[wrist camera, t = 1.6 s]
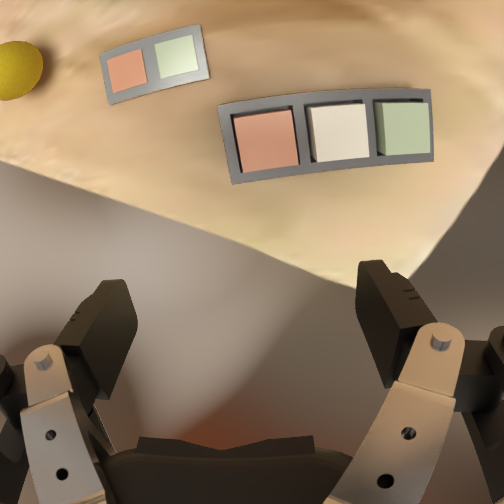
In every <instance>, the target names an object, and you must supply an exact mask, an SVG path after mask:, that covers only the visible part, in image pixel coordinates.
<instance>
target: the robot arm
mask: <svg viewBox="0 0 504 504" xmlns="http://www.w3.org/2000/svg"><path fill="white" fill-rule="evenodd" d="M355 309H356V314H357V318H358V321H359V323H360V326H361V328H362V330H363V333H364V336H365V338H366V341H367V343H368V346H369V348H370V351H371V353H372V356H373V359H374V361H375V364H376V367H377V369H378V371H379V375H380V377H381V380H382V382H383V385H384V388H385V389H386V388H391V387H392V388H391V390H390V392H389V394H388V396H387V398H386V400H385V402H384V404H383V406H382V408H381V410H380V412H379V414H378V416H377V417H376V419H375V421H374V423H373V425H372V427H371V429H370V430H369V432H368V434H367V436H366V437H365V439H364V441H363V443H362V444H361V446H360V448H359V450H358V451H357V453H356V455H355V456H354V458H353V457H351V456H349V455H346V454H344V453H342V452H338V451H335V450H331V449H326V448H321V447H314V440H313V436H312V435H311V436H302V437H291V438H279V439H268V440H264V441H260V442H256V443H253V444H248V445H244V446H240V447H236V448H231V449H227V450H217V449H213V448H208V447H204V446H200V445H196V444H193V443H189V442H185V441H182V440H175V439H160V438H148V437H139V440H138V444H137V448H134V449H130V450H125V451H122V452H119V453H116V451H115V449H114V447H113V446H112V443H111V441H110V439H109V437H108V435H107V432H106V430H105V428H104V426H103V423H102V421H101V419H100V416H99V414H98V412H97V409H96V408H95V406H94V405H93V404H94V402H95V399H104V400H109V399H110V397H111V394H112V391H113V389H114V386H115V384H116V381H117V379H118V376H119V374H120V371H121V368H122V366H123V364H124V361H125V359H126V356H127V353H128V351H129V349H130V347H131V344H132V342H133V339H134V337H135V335H136V332H137V327H138V320H137V315H136V312H135V309H134V306H133V303H132V300H131V297H130V294H129V291H128V288H127V285H126V283H125V281H124V280H122V279H118V280H117V279H116V280H103V281H102V282H101V283H100V285H99V286H98V287H97V289H96V290H95V292H94V293H93V294H92V295H90V296H89V297H88V298H86V299H85V300H84V301H83V302H81V304H80V305H79V307H78V308H77V309H76V311H75V314H73V315H72V317H71V318H70V321H69V322H68V323H67V324H66V326H65V327H64V329H63V330H62V332H61V333H60V335H59V336H58V338H57V339H56V341H55V343H54V344H53V345H45V346H42V347H39V348H37V349H36V350H34V351H33V352H32V353H30V354H29V356H28V357H27V358H26V360H25V363H24V364H22V365H16V366H10V365H9V364H8V362H7V360H6V359H5V357H4V356H3V355H0V411H1V413H2V414H3V415H4V416H5V418H6V419H7V420H6V422H5V425H4V427H3V429H2V431H1V433H0V504H18V500H19V497H20V493H21V490H22V487H23V484H24V481H25V478H26V475H27V471H28V469H29V466H30V469H31V474H32V477H33V481H34V485H35V489H36V492H37V496H38V499H39V503H40V504H419V502H420V500H421V498H422V495H423V493H424V491H425V489H426V486H427V484H428V482H429V479H430V477H431V474H432V472H433V469H434V467H435V464H436V461H437V459H438V456H439V453H440V451H441V448H442V445H443V442H444V439H445V436H446V433H447V430H448V427H449V424H450V420H451V417H452V413H453V412H461V413H462V416H463V418H464V421H465V423H466V426H467V428H468V431H469V434H470V436H471V439H472V442H473V444H474V447H475V450H476V453H477V456H478V458H479V461H480V464H481V466H482V470H483V473H484V476H485V480H486V483H487V486H488V489H489V493H490V496H491V500H492V503H493V504H504V400H503V398H504V326H499V327H496V328H494V329H493V330H492V331H491V333H490V336H489V338H488V341H474V340H473V341H472V340H464V337H463V335H462V334H461V333H460V332H459V331H458V330H457V329H456V328H454V327H452V326H450V325H448V324H444V323H438V322H437V320H436V319H435V317H434V316H433V314H432V313H431V311H430V310H429V308H428V307H427V305H426V304H425V303H424V301H423V300H422V298H420V295H419V294H418V293H417V291H415V288H414V287H413V286H412V284H411V283H410V282H409V280H408V279H406V278H405V277H403V276H402V275H400V274H399V273H397V272H396V273H391V272H390V270H389V269H388V267H387V266H386V265H385V263H384V262H383V260H370V261H361V262H360V263H359V265H358V275H357V287H356V299H355Z"/></svg>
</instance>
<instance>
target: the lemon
mask: <svg viewBox="0 0 504 504" xmlns="http://www.w3.org/2000/svg"><path fill="white" fill-rule="evenodd" d="M42 70H43V58H42V56H41V53H40V51H39V50H38V49H37V48H36V47H35V46H34V45H32V44H30V43H28V42H23V41H12V42H7V43H4V44H1V45H0V100H4V101H7V100H13V99H16V98H19V97H22V96H23V95H25V94H27V93H28V92H29V91H31V90H32V89H33V88H34V87H35V85H36V84H37V82H38V81H39V79H40V77H41V74H42Z"/></svg>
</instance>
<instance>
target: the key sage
mask: <svg viewBox="0 0 504 504" xmlns="http://www.w3.org/2000/svg"><path fill="white" fill-rule="evenodd" d="M372 103H373V112H374V123H375V136H376V150H377V151H379V152H380V153H382V154H384V155H386V156H388V155H401V154H417V153H430V126H429V109H428V103H423V102H416V101H386V102H372Z"/></svg>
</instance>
